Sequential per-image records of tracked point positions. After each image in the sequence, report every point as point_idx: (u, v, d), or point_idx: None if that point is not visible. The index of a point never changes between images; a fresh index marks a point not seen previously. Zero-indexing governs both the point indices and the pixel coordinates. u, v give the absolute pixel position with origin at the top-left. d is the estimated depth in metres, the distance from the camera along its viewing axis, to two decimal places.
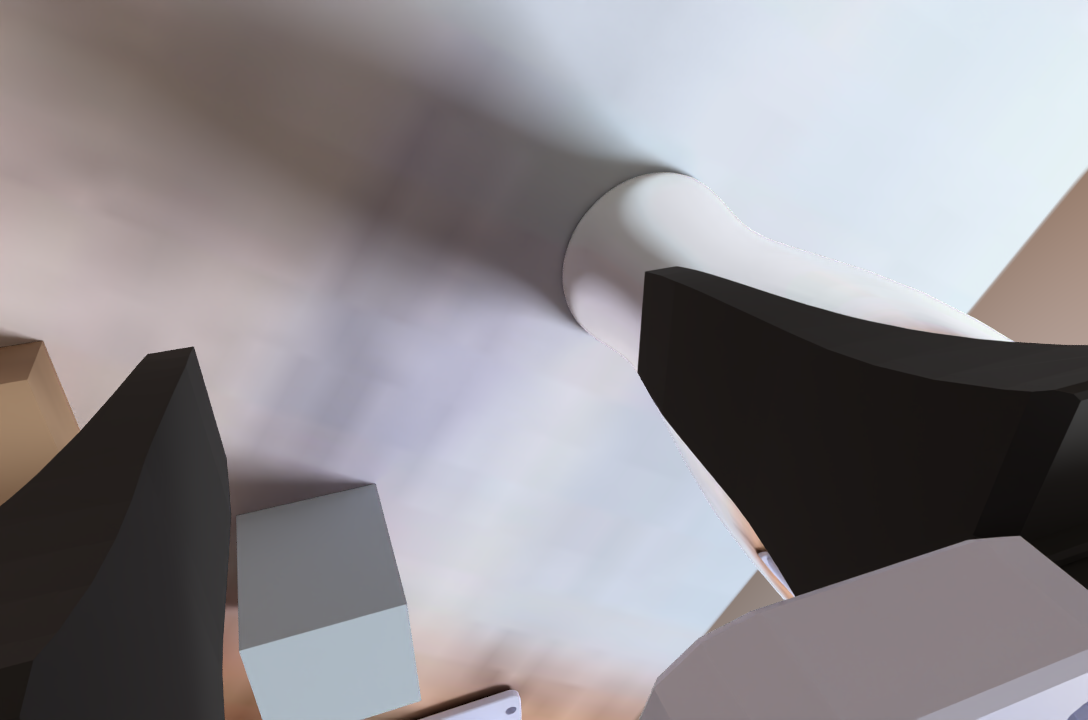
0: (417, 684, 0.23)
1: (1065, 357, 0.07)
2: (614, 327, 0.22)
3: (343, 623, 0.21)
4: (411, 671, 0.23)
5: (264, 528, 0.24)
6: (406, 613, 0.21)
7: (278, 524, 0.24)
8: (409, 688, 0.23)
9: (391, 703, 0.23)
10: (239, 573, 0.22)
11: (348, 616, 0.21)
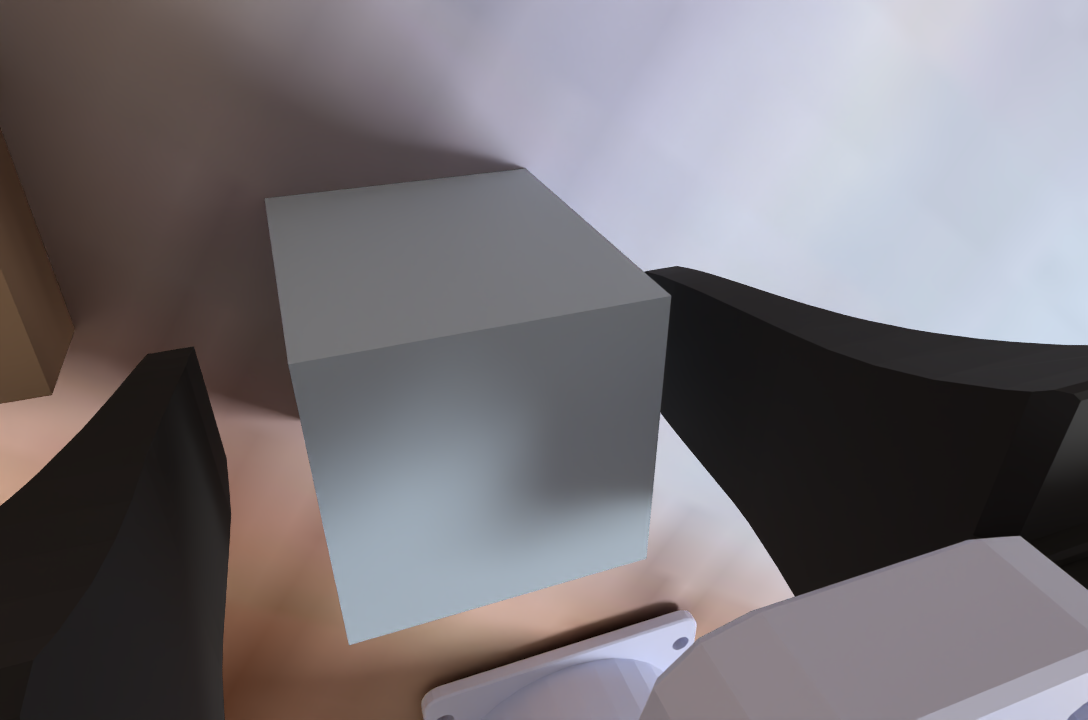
0: (647, 519, 0.11)
1: (1065, 357, 0.07)
2: None
3: (535, 325, 0.09)
4: (643, 484, 0.11)
5: (323, 210, 0.12)
6: (665, 323, 0.09)
7: (350, 207, 0.12)
8: (631, 527, 0.11)
9: (593, 559, 0.11)
10: (277, 259, 0.10)
11: (544, 313, 0.09)
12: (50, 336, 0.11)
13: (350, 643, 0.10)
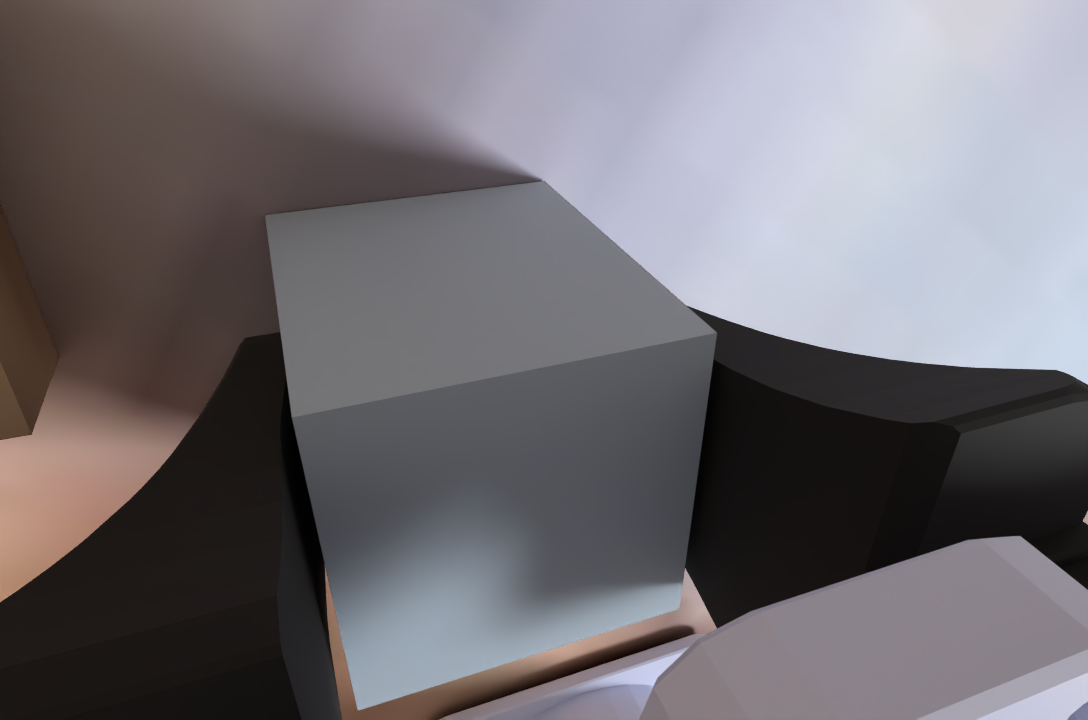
0: (681, 567, 0.10)
1: (965, 382, 0.07)
2: None
3: (566, 368, 0.08)
4: (679, 532, 0.10)
5: (328, 229, 0.11)
6: (708, 362, 0.08)
7: (357, 226, 0.11)
8: (664, 577, 0.10)
9: (622, 611, 0.10)
10: (279, 287, 0.09)
11: (576, 354, 0.08)
12: (30, 369, 0.10)
13: (359, 709, 0.09)
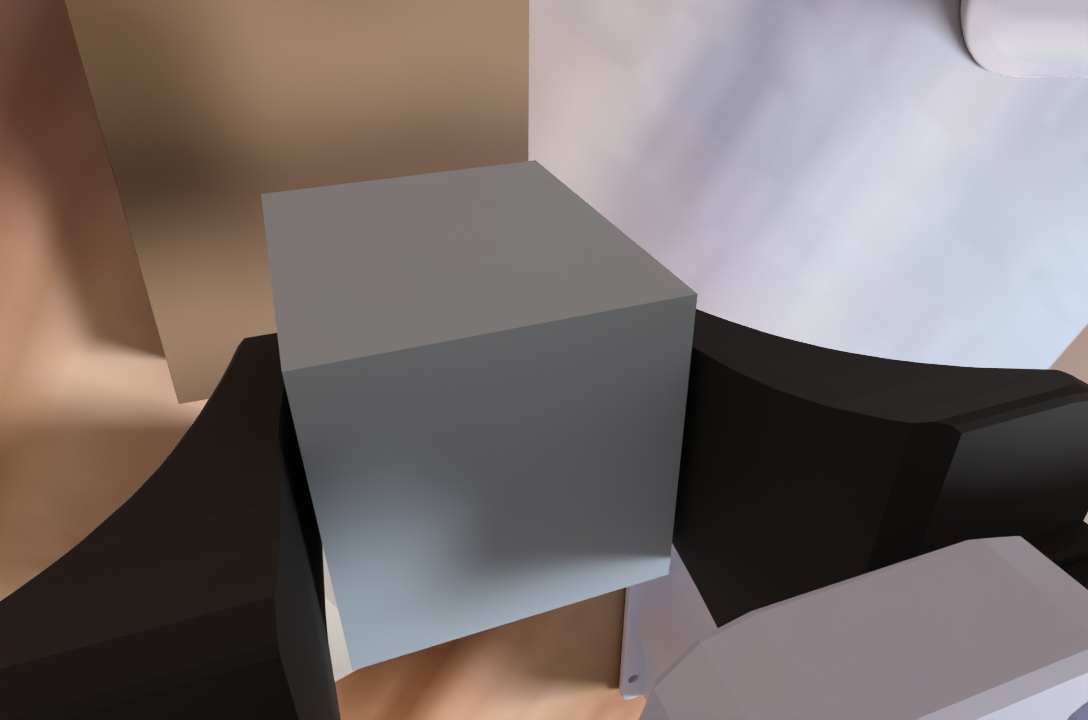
0: (669, 532, 0.10)
1: (965, 382, 0.07)
2: None
3: (550, 327, 0.08)
4: (666, 495, 0.10)
5: (322, 206, 0.11)
6: (690, 324, 0.09)
7: (351, 203, 0.11)
8: (652, 541, 0.10)
9: (611, 575, 0.10)
10: (273, 258, 0.09)
11: (559, 313, 0.08)
12: None
13: (353, 668, 0.09)
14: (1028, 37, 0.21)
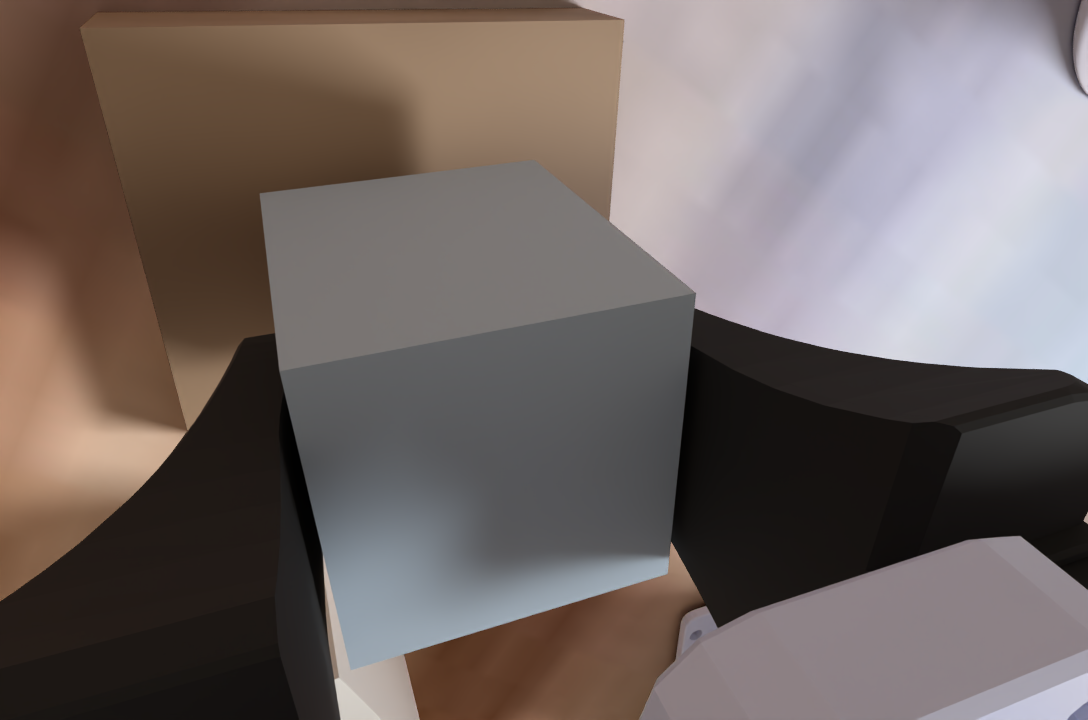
0: (668, 532, 0.10)
1: (966, 382, 0.07)
2: None
3: (547, 327, 0.08)
4: (664, 495, 0.10)
5: (321, 205, 0.11)
6: (689, 323, 0.09)
7: (350, 202, 0.11)
8: (651, 541, 0.10)
9: (611, 575, 0.10)
10: (271, 257, 0.09)
11: (557, 313, 0.08)
12: None
13: (352, 668, 0.09)
14: None
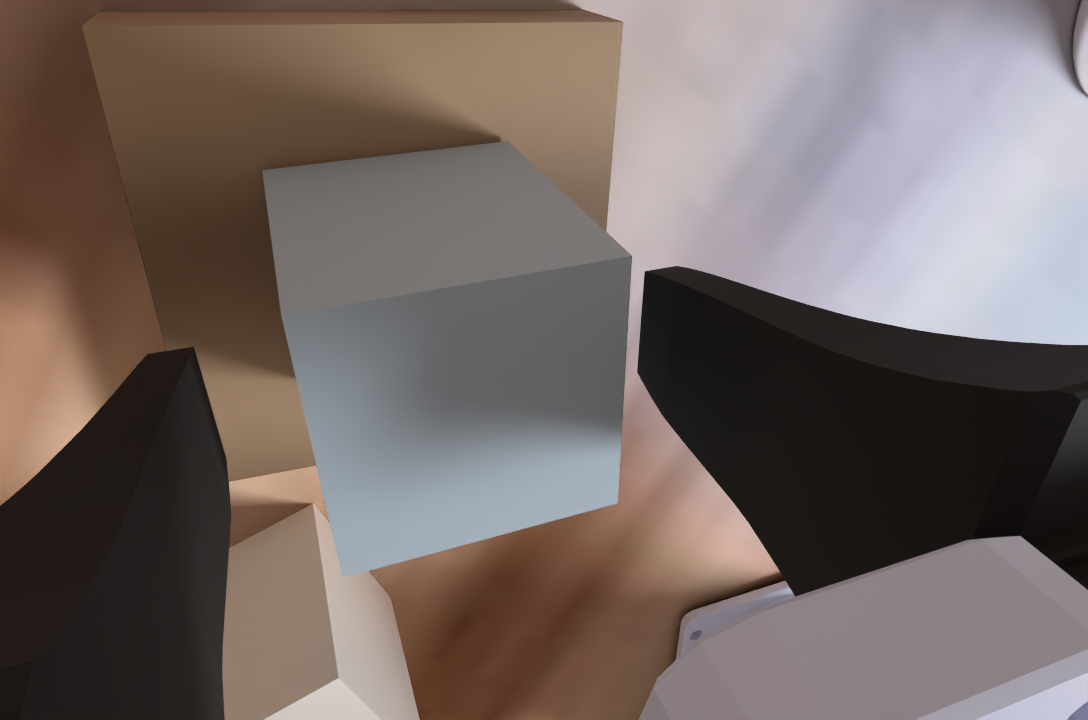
0: (617, 465, 0.12)
1: (1065, 357, 0.07)
2: None
3: (505, 282, 0.09)
4: (612, 432, 0.12)
5: (316, 181, 0.12)
6: (626, 282, 0.10)
7: (342, 178, 0.13)
8: (602, 473, 0.12)
9: (567, 502, 0.12)
10: (273, 225, 0.11)
11: (513, 271, 0.10)
12: None
13: (343, 576, 0.11)
14: None
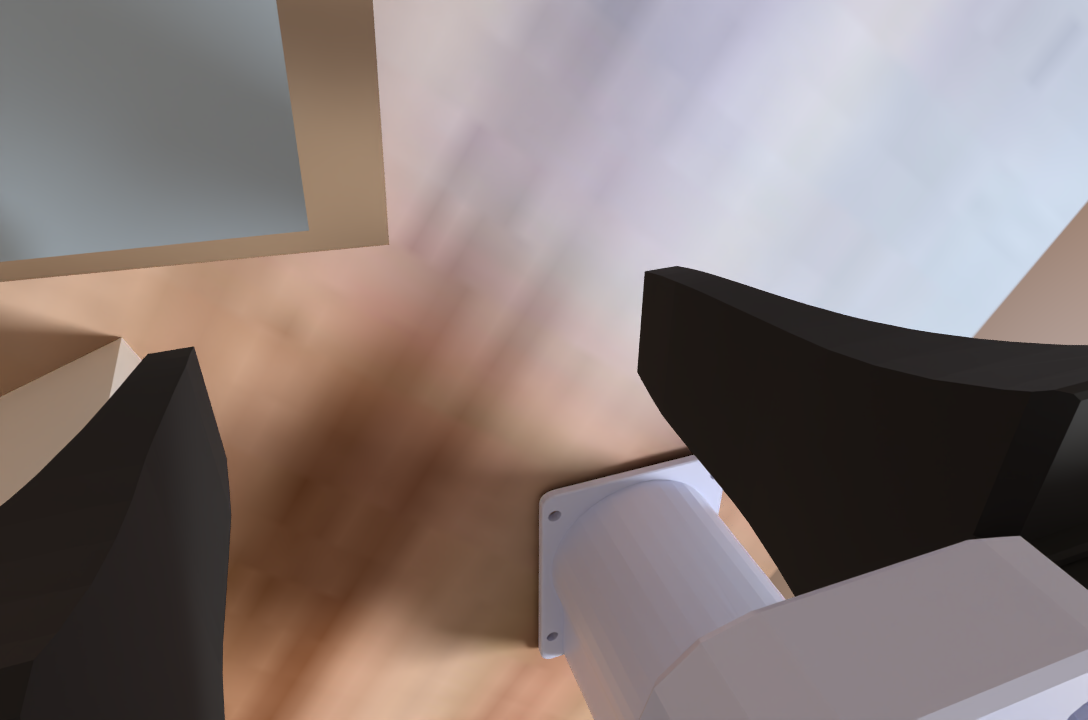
0: (299, 182, 0.12)
1: (1065, 357, 0.07)
2: None
3: None
4: (284, 138, 0.12)
5: None
6: None
7: None
8: (283, 188, 0.12)
9: (248, 218, 0.12)
10: None
11: None
12: None
13: None
14: None
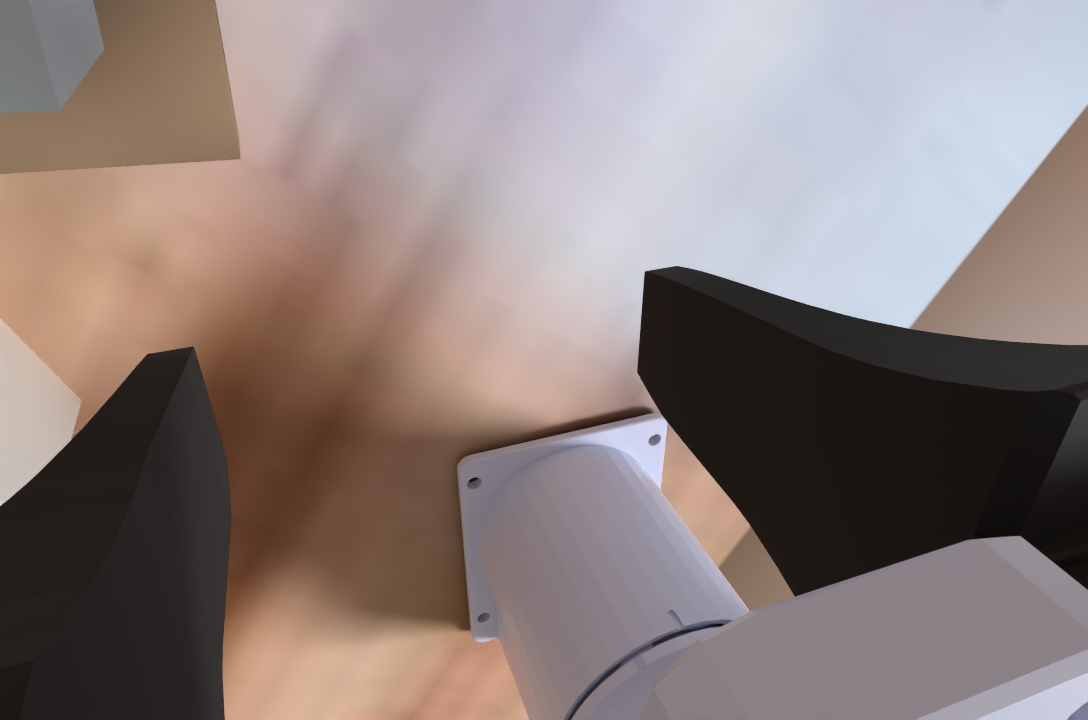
0: (39, 48, 0.10)
1: (1065, 357, 0.07)
2: None
3: None
4: None
5: None
6: None
7: None
8: (18, 54, 0.10)
9: None
10: None
11: None
12: (235, 127, 0.17)
13: None
14: None
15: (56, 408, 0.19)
